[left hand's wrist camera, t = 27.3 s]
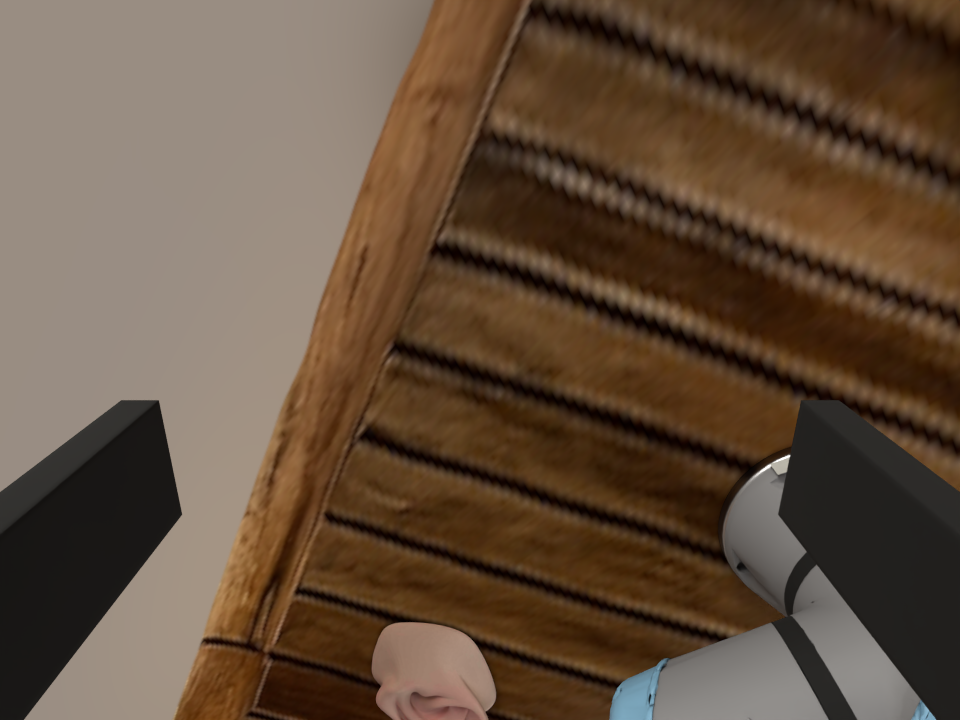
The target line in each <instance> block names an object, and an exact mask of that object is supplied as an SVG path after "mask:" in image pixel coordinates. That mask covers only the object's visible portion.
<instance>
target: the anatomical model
mask: <svg viewBox="0 0 960 720" xmlns="http://www.w3.org/2000/svg"><path fill="white" fill-rule="evenodd" d="M372 674H373V677H374V678H375V680H376V681H377V682H378V683H379V684H380V685H381V688H380V689H379V691H378V693H377V696H376V702H377V705H378V706H379V707H380V708H381V709H382V710H383V711H384V712H385V713H386V714H387V715H389V716H390V717H391V718H392V719H393V720H488V717H487V715H486V713H485V712H486V711H487V710H488V709H490V708H491V707H492V705H493V704H494V702H495V699H496V690H495V685H494V682H493V679H492V676H491V673H490V670H489V668H488V666H487V663H486V661H485V659H484V657H483V655H482V654H481V652H480V650H479V649H478V647H477V645H476V644H475V643H474V642H473V641H472V639H471V638H469V637H468V636H467V635H465V634H464V633H462V632H460V631H458V630H456V629H453V628H450V627H446V626H442V625H436V624H428V623H416V622H401V623H395V624H391V625H389V626H387V627H386V628H385V629H384V630H383V631H382V633H381V635H380V637H379V639H378V641H377V644H376V647H375V650H374V654H373V660H372Z"/></svg>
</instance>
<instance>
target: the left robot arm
mask: <svg viewBox="0 0 960 720" xmlns="http://www.w3.org/2000/svg"><path fill="white" fill-rule="evenodd" d="M181 515H182V512H181V507H180V502H179V497H178V492H177V487H176V482H175V478H174V473H173V468H172V463H171V458H170V453H169V448H168V443H167V439H166V434H165V429H164V424H163V419H162V414H161V409H160V404H159V401H158V400H121V401H120V402H119V403H117V404H116V405H115V406H113V407H112V408H111V409H109V410H108V411H107V412H105V413H104V414H103V415H101V416H100V417H99V418H97V419H96V420H95V421H93V422H92V423H91V424H90V425H88V426H87V427H86V428H84V429H83V430H82V431H80V432H79V433H78V434H76V435H75V436H74V437H72V438H71V439H70V440H68V441H67V442H66V443H64V444H63V445H62V446H61V447H59V448H58V449H57V450H55V451H54V452H53V453H51V454H50V455H49V456H47V457H46V458H45V459H43V460H42V461H41V462H39V463H38V464H37V465H36V466H34V467H33V468H32V469H30V470H29V471H28V472H26V473H25V474H24V475H22V476H21V477H20V478H18V479H17V480H16V481H14V482H13V483H12V484H10V485H9V486H8V487H7V488H5V489H4V490H3V491H1V492H0V720H24V719H25V717H26V716H27V715H28V714H29V712H30V711H31V710H32V708H33V707H34V706H35V705H36V703H37V702H38V701H39V699H40V698H41V697H42V695H43V694H44V693H45V692H46V690H47V689H48V688H49V686H50V685H51V684H52V682H53V681H54V680H55V679H56V677H57V676H58V675H59V673H60V672H61V671H62V670H63V668H64V667H65V666H66V664H67V663H68V662H69V660H70V659H71V658H72V657H73V655H74V654H75V653H76V651H77V650H78V649H79V647H80V646H81V645H82V644H83V642H84V641H85V640H86V638H87V637H88V636H89V635H90V633H91V632H92V631H93V629H94V628H95V627H96V625H97V624H98V623H99V622H100V620H101V619H102V618H103V616H104V615H105V614H106V612H107V611H108V610H109V609H110V607H111V606H112V605H113V603H114V602H115V601H116V600H117V598H118V597H119V596H120V594H121V593H122V592H123V590H124V589H125V588H126V587H127V585H128V584H129V583H130V581H131V580H132V579H133V577H134V576H135V575H136V574H137V572H138V571H139V570H140V568H141V567H142V566H143V565H144V563H145V562H146V561H147V559H148V558H149V557H150V555H151V554H152V553H153V552H154V550H155V549H156V548H157V546H158V545H159V544H160V542H161V541H162V540H163V539H164V537H165V536H166V535H167V533H168V532H169V531H170V530H171V528H172V527H173V526H174V524H175V523H176V522H177V520H178V519H179V518H180V516H181ZM718 535H719V541H720V546H721V548H722V551H723V553H724V555H725V557H726V559H727V561H728V563H729V564H730V566H731V568H732V569H733V571H734V572H735V574H736V575H737V576H738V577H739V578H740V579H741V580H742V582H743V583H744V584H745V585H746V586H747V587H748V588H750V589H751V590H752V591H753V592H755V593H756V594H757V595H759V596H760V597H761V598H762V599H764V600H765V601H766V602H768V603H769V604H770V605H771V606H773V607H774V608H775V609H777V610H778V611H779V612H780V613H782V614H783V615H784V616H786V617H785V618H782V619H780V620H777V621H775V622H771V623H769V624H766V625H763V626H761V627H758V628H755V629H753V630H750V631H747V632H745V633H742V634H739V635H736V636H734V637H731V638H728V639H725V640H723V641H720V642H717V643H714V644H712V645H709V646H706V647H703V648H701V649H698V650H695V651H692V652H690V653H687V654H684V655H682V656H679V657H676V658H673V659H670V658H666V659H664V660H662V661H660V662H659V663H658V665H657V666H656V667H653V668H651V669H649V670H647V671H644V672H642V673H640V674H637V675H635V676H633V677H631V678H628V679H627V680H625V681H624V682H623V683H621V685H620V686H619V687H618V688H617V690H616V692H615V695H614V697H613V700H612V706H611V709H610V720H960V492H959V491H957V490H956V489H955V488H954V487H952V486H951V485H950V484H948V483H947V482H946V481H944V480H943V479H942V478H940V477H939V476H938V475H936V474H935V473H934V472H932V471H931V470H930V469H928V468H927V467H926V466H925V465H923V464H922V463H921V462H919V461H918V460H917V459H915V458H914V457H913V456H911V455H910V454H909V453H907V452H906V451H905V450H903V449H902V448H901V447H899V446H898V445H897V444H896V443H894V442H893V441H892V440H890V439H889V438H888V437H886V436H885V435H884V434H882V433H881V432H880V431H878V430H877V429H876V428H874V427H873V426H872V425H870V424H869V423H868V422H867V421H865V420H864V419H863V418H861V417H860V416H859V415H857V414H856V413H855V412H853V411H852V410H851V409H849V408H848V407H847V406H845V405H844V404H843V403H841V402H840V401H839V400H801V404H800V409H799V414H798V419H797V424H796V429H795V433H794V438H793V443H792V447H789V448H787V449H784V450H781V451H779V452H777V453H774V454H772V455H770V456H769V457H767V458H765V459H763V460H762V461H760V462H759V463H757V464H756V465H755V466H753V467H752V468H751V469H750V470H748V471H747V472H746V473H745V474H744V475H743V476H742V477H741V478H740V479H739V480H738V482H737V483H736V484H735V485H734V487H733V488H732V489H731V491H730V493H729V494H728V496H727V498H726V500H725V502H724V504H723V507H722V510H721V513H720V517H719V524H718Z"/></svg>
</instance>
